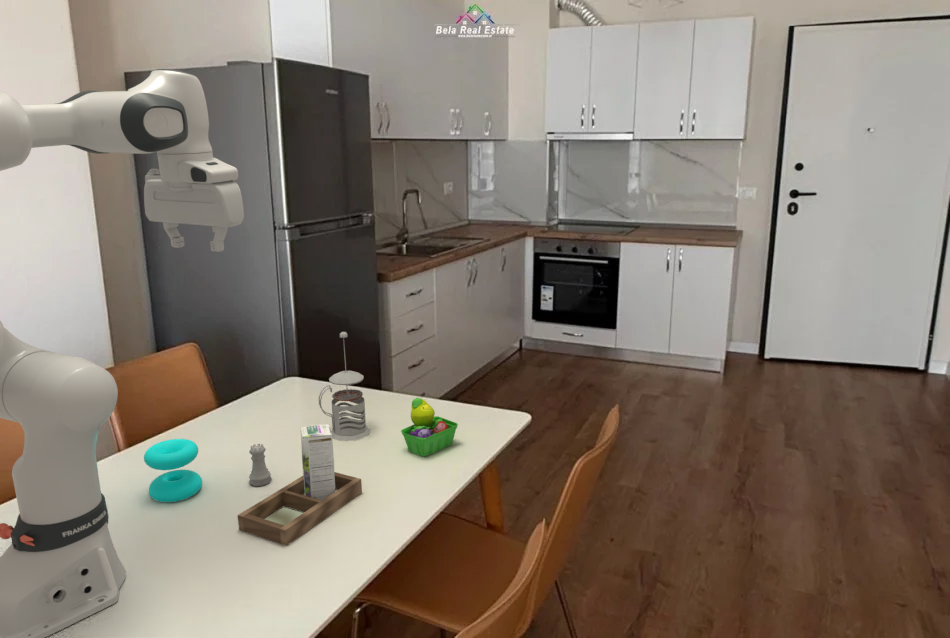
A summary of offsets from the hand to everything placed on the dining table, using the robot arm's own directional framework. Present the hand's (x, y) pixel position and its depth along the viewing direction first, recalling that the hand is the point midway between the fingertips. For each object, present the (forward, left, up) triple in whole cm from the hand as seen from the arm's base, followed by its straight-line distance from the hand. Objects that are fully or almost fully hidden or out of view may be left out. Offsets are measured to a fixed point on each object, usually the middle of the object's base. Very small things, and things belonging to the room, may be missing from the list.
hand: (197, 249), depth 127 cm
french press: (+38, +1, -50) cm, 63 cm away
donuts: (-1, +13, -50) cm, 52 cm away
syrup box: (+10, -15, -50) cm, 53 cm away
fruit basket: (+40, -21, -50) cm, 67 cm away
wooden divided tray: (+5, -15, -50) cm, 52 cm away
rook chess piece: (+10, +1, -50) cm, 51 cm away
